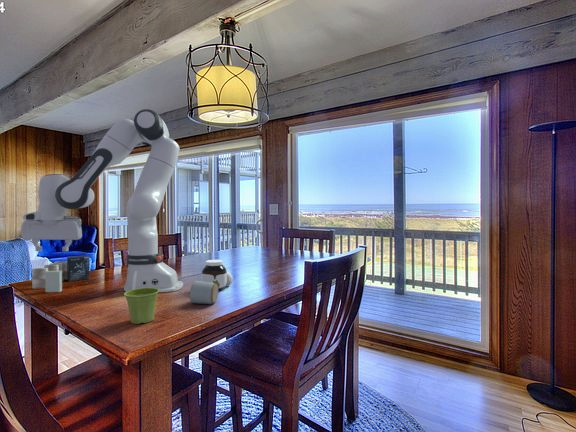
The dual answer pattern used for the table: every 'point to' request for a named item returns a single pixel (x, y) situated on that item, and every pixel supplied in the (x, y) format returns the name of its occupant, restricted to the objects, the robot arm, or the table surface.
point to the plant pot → (141, 304)
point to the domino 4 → (53, 281)
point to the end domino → (64, 269)
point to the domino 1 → (38, 278)
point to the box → (78, 268)
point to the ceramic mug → (203, 292)
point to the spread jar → (216, 274)
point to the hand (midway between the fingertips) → (52, 251)
